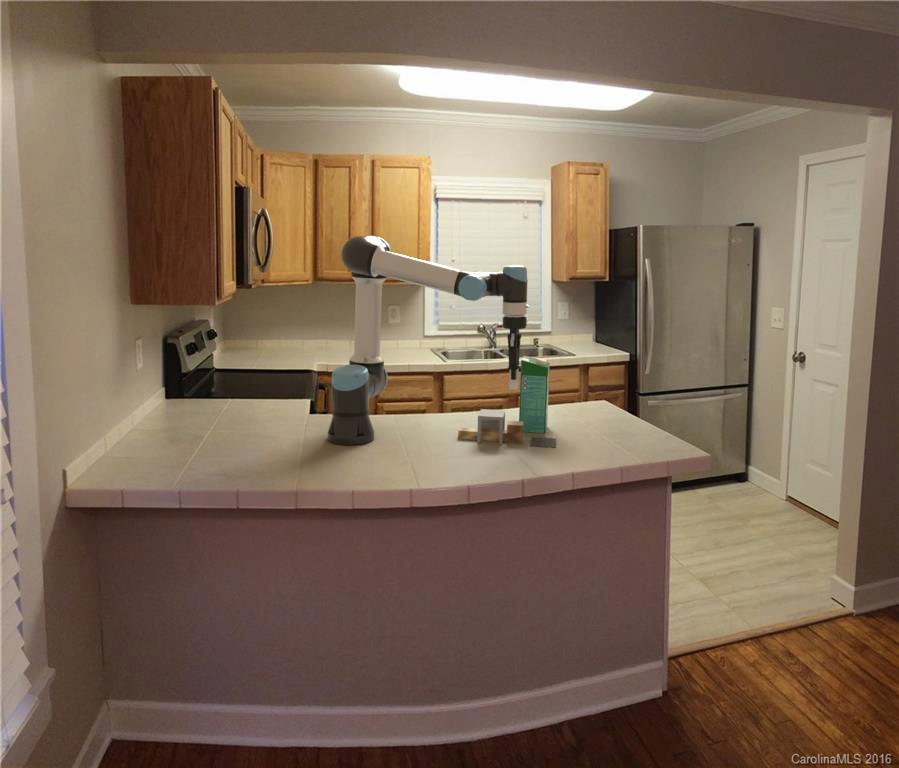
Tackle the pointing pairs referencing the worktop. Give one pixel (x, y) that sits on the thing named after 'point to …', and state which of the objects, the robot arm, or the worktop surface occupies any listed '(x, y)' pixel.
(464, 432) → the tan long bar
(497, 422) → the tunnel
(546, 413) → the milk carton
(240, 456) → the worktop surface
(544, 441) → the mat
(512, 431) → the block
